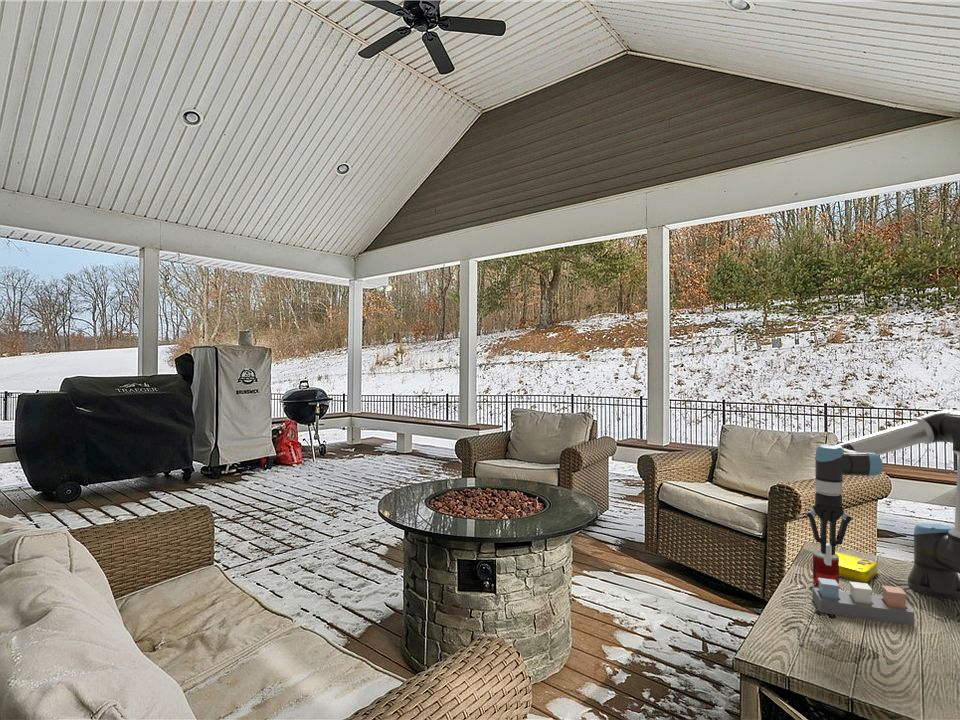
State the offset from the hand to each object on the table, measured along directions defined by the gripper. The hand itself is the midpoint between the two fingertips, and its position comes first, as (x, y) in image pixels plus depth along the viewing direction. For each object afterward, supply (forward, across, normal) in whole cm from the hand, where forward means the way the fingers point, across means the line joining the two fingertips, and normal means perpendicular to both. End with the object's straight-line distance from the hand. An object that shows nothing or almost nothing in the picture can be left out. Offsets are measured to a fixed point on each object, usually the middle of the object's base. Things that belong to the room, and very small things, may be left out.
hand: (827, 563), depth 175 cm
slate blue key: (+11, 0, 0) cm, 11 cm away
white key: (+11, -9, 0) cm, 14 cm away
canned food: (+15, -4, -20) cm, 25 cm away
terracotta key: (+11, -18, 0) cm, 21 cm away
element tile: (+15, -16, -36) cm, 42 cm away
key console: (+14, -9, 0) cm, 17 cm away
